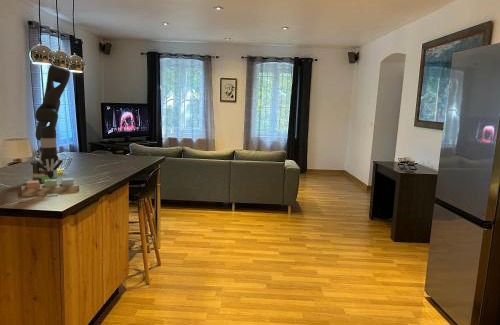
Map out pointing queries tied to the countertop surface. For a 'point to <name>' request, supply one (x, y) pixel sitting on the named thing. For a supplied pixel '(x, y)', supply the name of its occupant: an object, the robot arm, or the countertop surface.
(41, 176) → the coffee can
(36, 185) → the terracotta button
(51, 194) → the tile
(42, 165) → the robot arm
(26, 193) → the console
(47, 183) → the sage button
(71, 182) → the blue-grey button
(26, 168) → the countertop surface
